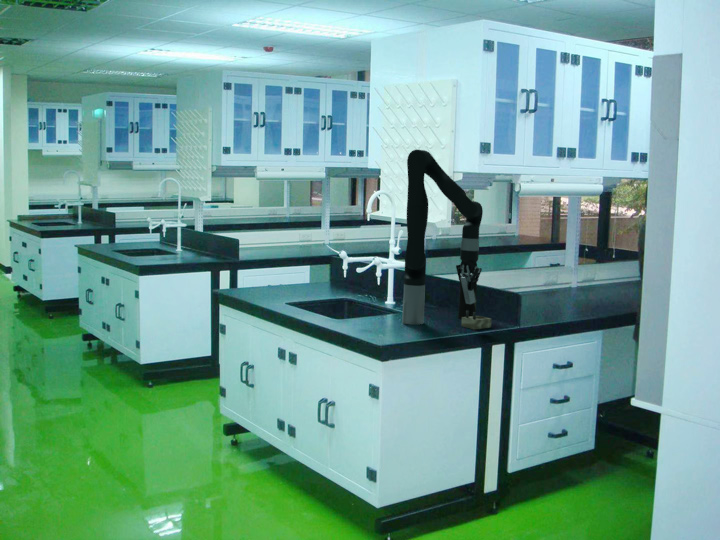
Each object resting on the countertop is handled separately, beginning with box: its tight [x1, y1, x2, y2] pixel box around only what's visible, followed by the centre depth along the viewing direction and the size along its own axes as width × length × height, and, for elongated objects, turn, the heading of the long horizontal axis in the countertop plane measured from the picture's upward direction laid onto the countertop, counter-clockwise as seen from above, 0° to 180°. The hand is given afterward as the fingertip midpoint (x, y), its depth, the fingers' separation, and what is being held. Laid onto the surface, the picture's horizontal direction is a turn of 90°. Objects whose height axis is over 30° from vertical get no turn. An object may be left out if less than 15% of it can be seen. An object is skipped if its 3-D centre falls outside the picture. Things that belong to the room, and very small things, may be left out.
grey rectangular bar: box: [460, 275, 477, 304], centre depth 318 cm, size 3×3×12 cm
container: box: [457, 276, 479, 320], centre depth 345 cm, size 9×9×20 cm
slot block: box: [460, 311, 492, 330], centre depth 326 cm, size 10×8×7 cm
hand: (467, 289), depth 318 cm, fingers closed on grey rectangular bar, 3 cm apart
